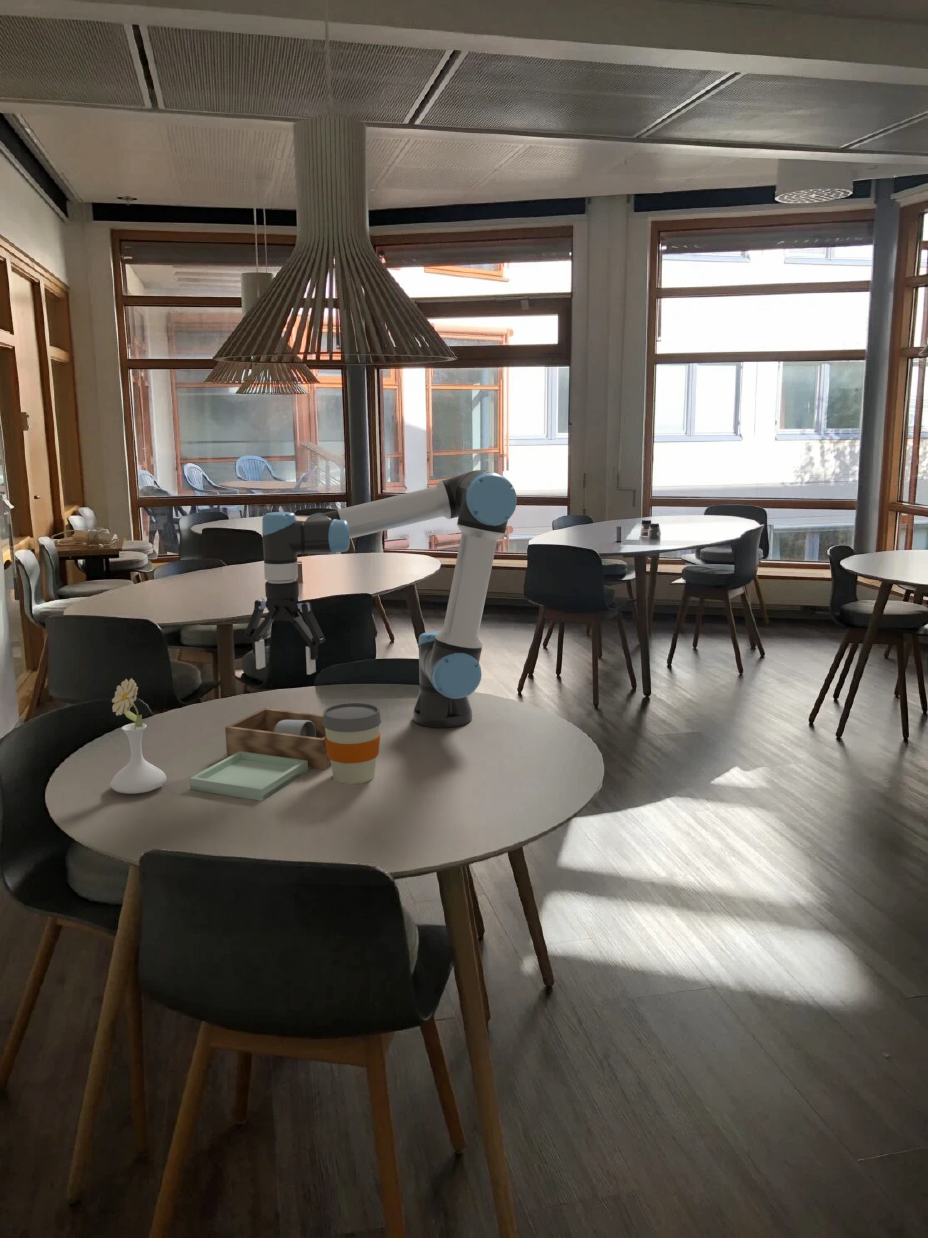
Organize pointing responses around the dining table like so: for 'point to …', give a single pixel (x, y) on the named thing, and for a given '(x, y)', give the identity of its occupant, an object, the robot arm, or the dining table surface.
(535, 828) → the dining table surface
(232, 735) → the walnut box frame
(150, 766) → the flower in vase
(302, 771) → the sage tray
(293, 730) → the ceramic mug
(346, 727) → the reusable coffee cup
